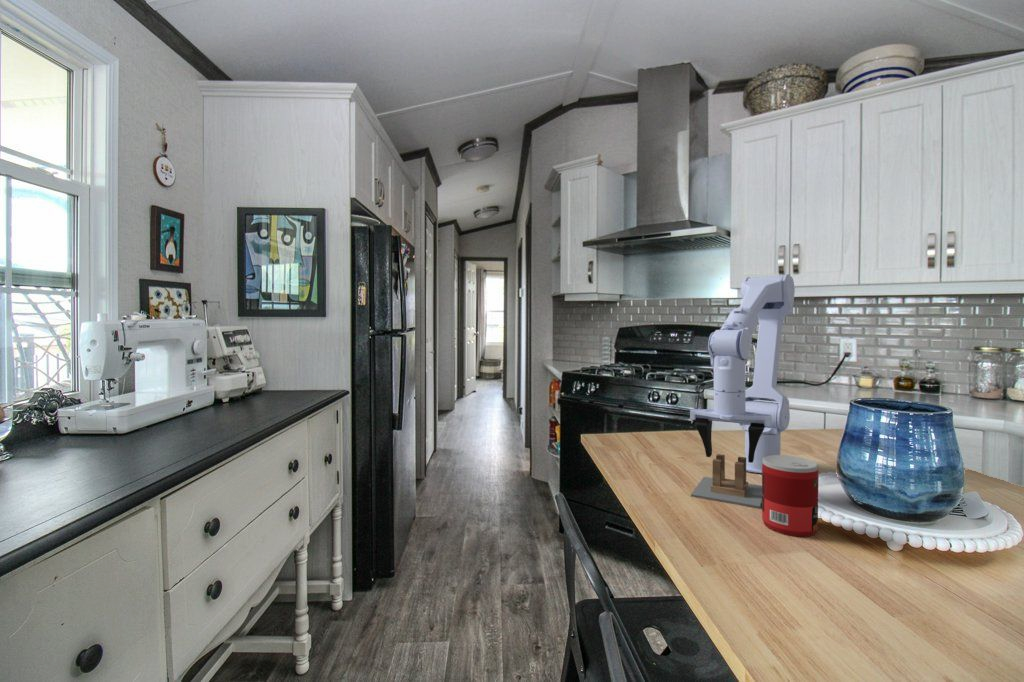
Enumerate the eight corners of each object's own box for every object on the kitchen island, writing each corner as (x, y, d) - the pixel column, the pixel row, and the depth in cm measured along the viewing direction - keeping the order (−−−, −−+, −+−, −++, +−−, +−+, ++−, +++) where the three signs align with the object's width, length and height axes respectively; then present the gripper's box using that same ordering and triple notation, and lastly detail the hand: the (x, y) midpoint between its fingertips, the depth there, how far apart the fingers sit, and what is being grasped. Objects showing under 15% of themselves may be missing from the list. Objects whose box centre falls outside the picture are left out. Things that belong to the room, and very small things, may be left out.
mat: (703, 478, 103) (703, 476, 103) (766, 488, 97) (766, 486, 97) (690, 496, 93) (690, 494, 93) (759, 508, 87) (759, 506, 87)
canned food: (826, 539, 74) (827, 469, 74) (770, 535, 76) (770, 467, 75) (806, 519, 82) (807, 455, 81) (756, 516, 83) (756, 453, 83)
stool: (716, 482, 99) (716, 453, 99) (748, 487, 96) (748, 457, 96) (710, 491, 94) (710, 460, 94) (744, 497, 91) (744, 465, 91)
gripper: (686, 390, 95) (686, 458, 95) (769, 396, 87) (769, 469, 87) (694, 386, 100) (694, 449, 101) (772, 390, 93) (772, 459, 93)
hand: (729, 458), depth 95 cm, fingers open, 7 cm apart
